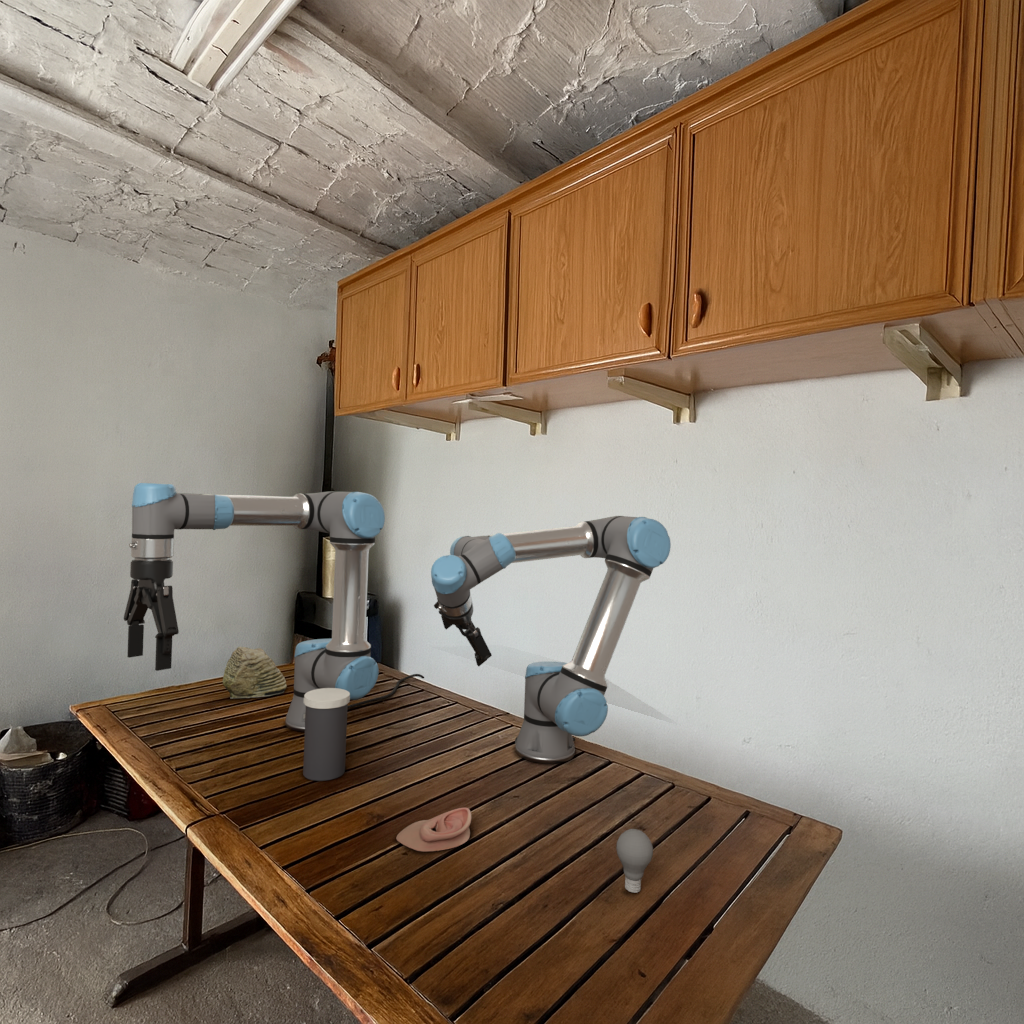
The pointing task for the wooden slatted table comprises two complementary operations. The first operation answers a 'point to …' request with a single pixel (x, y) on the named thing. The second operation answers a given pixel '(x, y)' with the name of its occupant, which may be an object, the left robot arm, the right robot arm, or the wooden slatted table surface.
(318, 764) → the jar
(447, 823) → the anatomical model
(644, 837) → the light bulb
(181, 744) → the wooden slatted table surface
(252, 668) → the fossil
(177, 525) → the left robot arm
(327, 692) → the lid
